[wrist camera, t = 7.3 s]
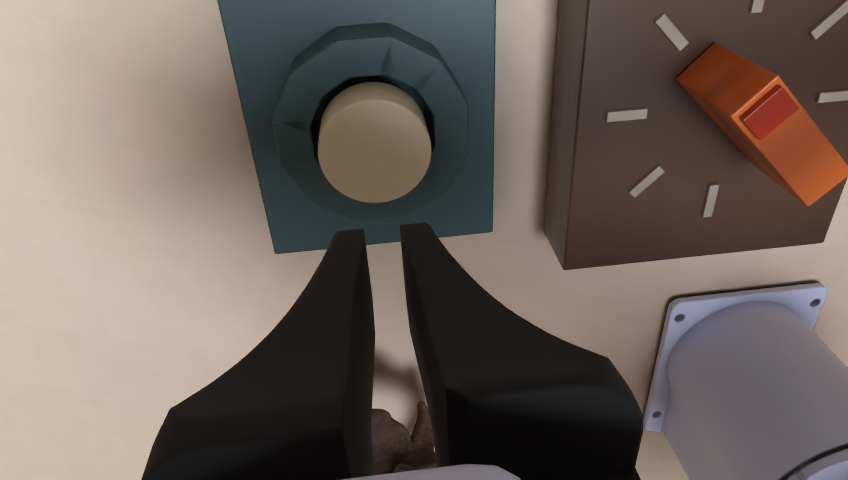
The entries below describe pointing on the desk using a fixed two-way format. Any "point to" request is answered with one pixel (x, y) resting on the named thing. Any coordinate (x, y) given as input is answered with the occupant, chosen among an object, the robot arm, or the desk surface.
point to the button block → (358, 63)
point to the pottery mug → (402, 443)
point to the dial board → (680, 128)
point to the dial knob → (764, 122)
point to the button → (373, 142)
